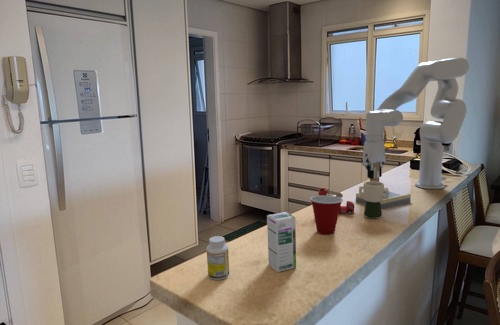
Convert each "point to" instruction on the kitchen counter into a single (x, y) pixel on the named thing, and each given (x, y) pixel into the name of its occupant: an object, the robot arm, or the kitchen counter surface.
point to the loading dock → (391, 201)
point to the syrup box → (281, 241)
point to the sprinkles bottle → (375, 172)
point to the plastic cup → (326, 213)
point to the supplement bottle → (217, 258)
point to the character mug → (373, 198)
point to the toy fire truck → (343, 209)
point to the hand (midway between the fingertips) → (374, 176)
